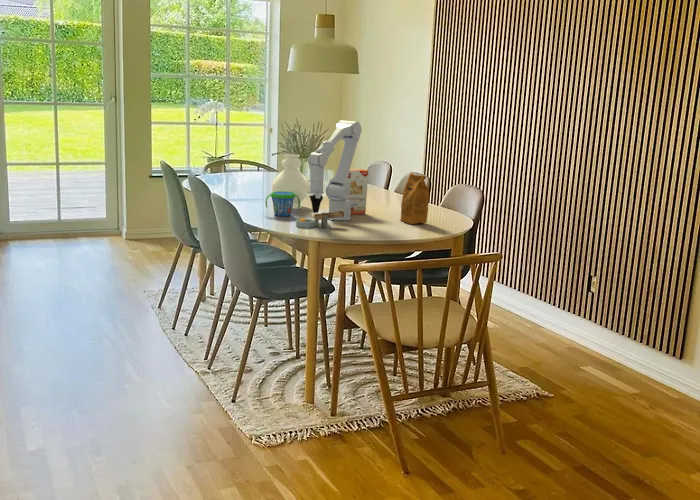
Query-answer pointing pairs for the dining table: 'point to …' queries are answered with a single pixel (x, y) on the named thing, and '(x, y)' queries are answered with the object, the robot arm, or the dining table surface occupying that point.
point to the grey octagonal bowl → (305, 223)
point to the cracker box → (358, 190)
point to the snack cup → (282, 202)
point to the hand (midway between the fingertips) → (315, 212)
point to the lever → (330, 215)
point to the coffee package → (415, 200)
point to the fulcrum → (322, 223)
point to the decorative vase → (291, 179)
